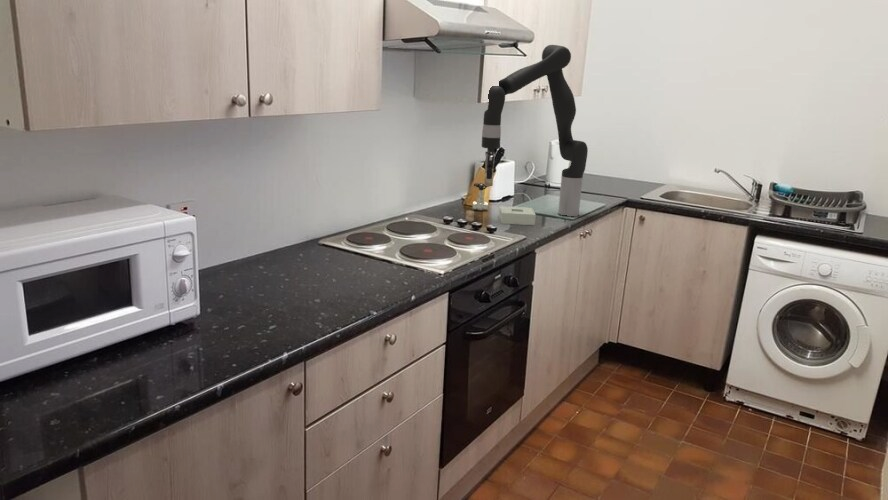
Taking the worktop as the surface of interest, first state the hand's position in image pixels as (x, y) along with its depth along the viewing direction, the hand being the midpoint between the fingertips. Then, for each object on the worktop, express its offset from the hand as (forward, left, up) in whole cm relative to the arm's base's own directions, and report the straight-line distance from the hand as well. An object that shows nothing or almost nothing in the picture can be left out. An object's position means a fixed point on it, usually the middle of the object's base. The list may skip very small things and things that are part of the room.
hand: (488, 177), depth 269 cm
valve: (-20, -2, -18) cm, 27 cm away
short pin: (+2, -7, -18) cm, 20 cm away
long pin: (0, 0, -3) cm, 3 cm away
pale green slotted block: (-2, +13, -18) cm, 22 cm away
